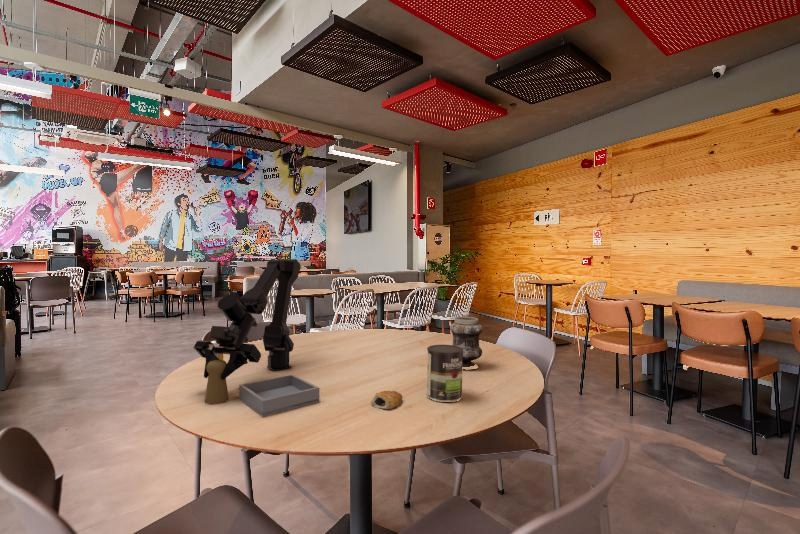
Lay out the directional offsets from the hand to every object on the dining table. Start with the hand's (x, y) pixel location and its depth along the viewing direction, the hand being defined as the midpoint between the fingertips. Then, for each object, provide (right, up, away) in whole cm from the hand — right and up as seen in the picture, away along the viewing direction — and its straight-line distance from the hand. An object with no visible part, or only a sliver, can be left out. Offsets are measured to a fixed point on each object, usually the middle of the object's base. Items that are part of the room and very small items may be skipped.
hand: (213, 378), depth 110 cm
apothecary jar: (+75, -7, +38) cm, 84 cm away
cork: (0, -7, +2) cm, 7 cm away
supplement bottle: (-14, -6, +31) cm, 34 cm away
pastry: (+47, -8, +1) cm, 48 cm away
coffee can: (+64, -7, +7) cm, 64 cm away
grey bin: (+17, -7, +2) cm, 19 cm away
